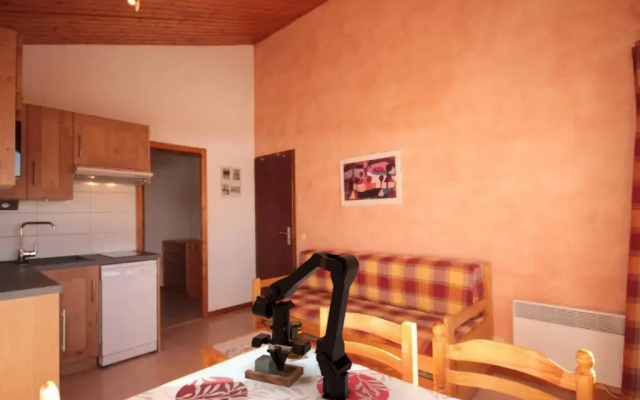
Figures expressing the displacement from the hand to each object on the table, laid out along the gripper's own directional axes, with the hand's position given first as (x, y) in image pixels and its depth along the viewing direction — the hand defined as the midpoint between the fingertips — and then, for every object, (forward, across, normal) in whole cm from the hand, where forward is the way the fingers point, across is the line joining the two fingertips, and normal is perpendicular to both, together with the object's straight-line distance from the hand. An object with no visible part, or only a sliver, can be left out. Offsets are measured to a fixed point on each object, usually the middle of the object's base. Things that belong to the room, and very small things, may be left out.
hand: (280, 371), depth 110 cm
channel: (+2, +3, 0) cm, 3 cm away
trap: (+2, -2, 0) cm, 2 cm away
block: (+2, +5, 0) cm, 6 cm away
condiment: (+2, +4, -17) cm, 18 cm away
